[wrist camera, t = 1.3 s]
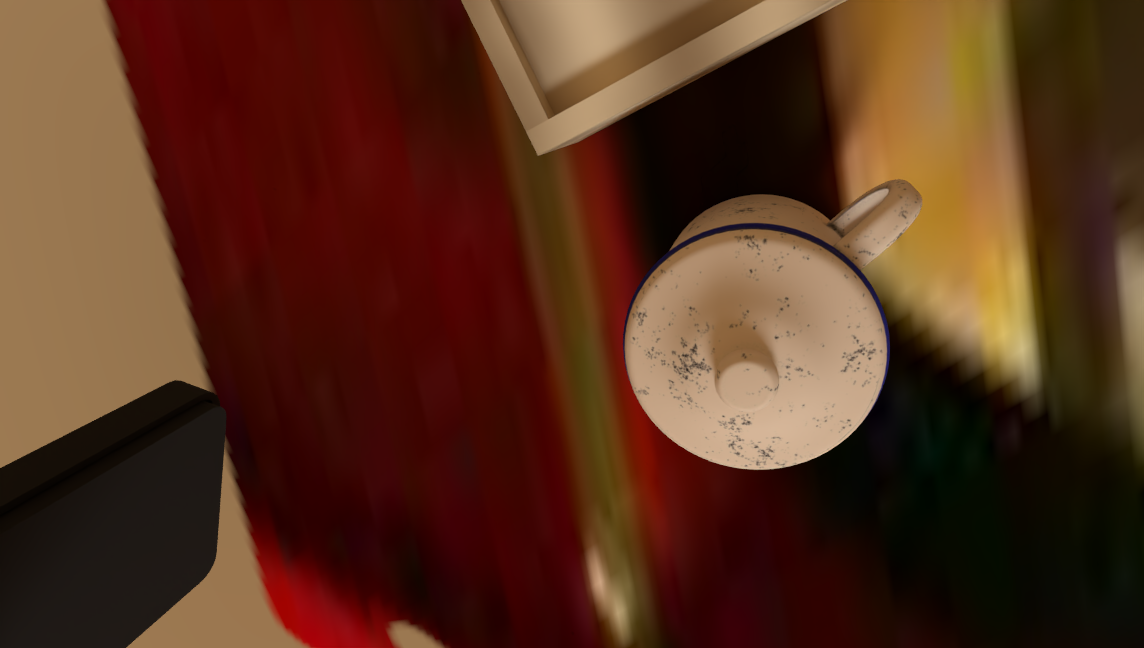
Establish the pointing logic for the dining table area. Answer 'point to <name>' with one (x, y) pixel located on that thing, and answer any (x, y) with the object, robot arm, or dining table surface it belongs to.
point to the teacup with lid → (766, 327)
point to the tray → (616, 53)
